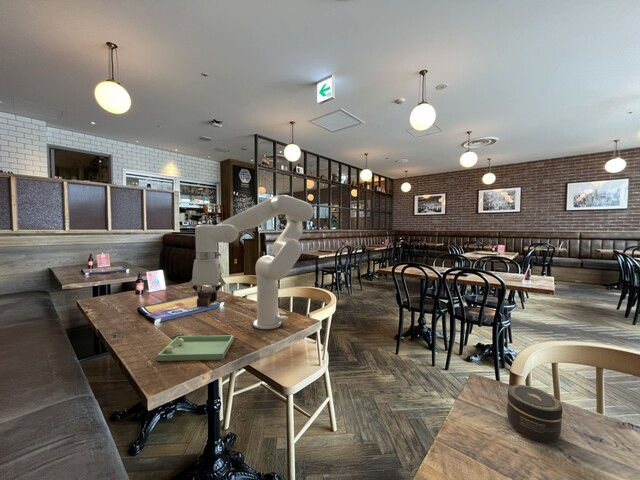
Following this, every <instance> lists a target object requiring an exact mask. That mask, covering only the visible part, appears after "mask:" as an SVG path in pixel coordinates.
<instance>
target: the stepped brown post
mask: <svg viewBox="0 0 640 480" xmlns="http://www.w3.org/2000/svg"><path fill="white" fill-rule="evenodd" d="M212 291H213V290H212V286H210V287H205V288H203V289H202V291H201V292H200V297H199V298H198V297H197V298H196V308H209V306H211V305H212V304H213V303H212V296H211V293H212Z"/></svg>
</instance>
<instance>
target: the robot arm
mask: <svg viewBox="0 0 640 480" xmlns="http://www.w3.org/2000/svg"><path fill="white" fill-rule="evenodd" d="M279 215H285V217H286V226H285V228H284V229H283V231H282V232H281V233H280V234H279V236H278V237H277V239H275V241H274V242H273V244H272V246H271V252H272V254H273V255H274V256H272V255H263V256H261V257H259V258H258V260H257V261H256V263H255V276H256V277H255V278H256V319H255V320H254V321H253V323H252V324H253V327H254V328H255V329H258V330H274V329H276V328H277V329H278V328H279V327H280V326H281V325H282V322H288V321H289V317H288V316H286V315H280V312H279V281H281V280H282V279H284V278H286V276H287V275H288V274H289V272H290V271H291V270H292V268H293V267H294V265H296V263H297V262H298V260H299V259H300V257H301V254H302V245H301V243H300V241H299V240H300V239H301V237H302V235H303V231H304V228H303V222H308V221H310V220H311V219H313V217H314V215H315V210H314V207H313V206H312V204H310V203H309V202H307V201H304V200H302V199H299V198H296V197H293V196H289V195H287V194H279V195H273V196H270V197H268V198H267V199H264V200H263V201H261V202H259V203H257V204H255V205H253V206H251V207H250V208H247V209H245V210H243V211H241V212H239V213H237V214H235V215H233V216H230V217H229V218H227V219H225V220H222V221H220V222H219V223H217V224H216V225H214V224H197V225H196V226H195V228H194V231H195V259H194V260H193V267H192V276H191V277H192V278H191V279H190V281H189V282H188V284H187V285H188V287H190V288H192V289H193V291H195V292H196V294H197V299H198V298H199V297H200V292H201V291H203V289H204V288H203V287H204V286H210V287H212V290H213V291H212V293H211V296H212V303H211V304H214V303H215V302H216V301H217V300H218V291H219V290H220V289H221V288H222V287H224V286H225V285H227V284H226V281H225V280H224V278H223V275H222V267H221V261H220V257H221V256H222V255H221V252H218V245H217V243H224V244H230V243H233V242H235V241H236V240H237V239H238V237H239V233H240V232H242V231H246V230H248V229H254V228H257V227H259V226H262V225H263V224H266V223H267V222H269V221H270V220H272V219H274V218H275V217H277V216H279Z"/></svg>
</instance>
